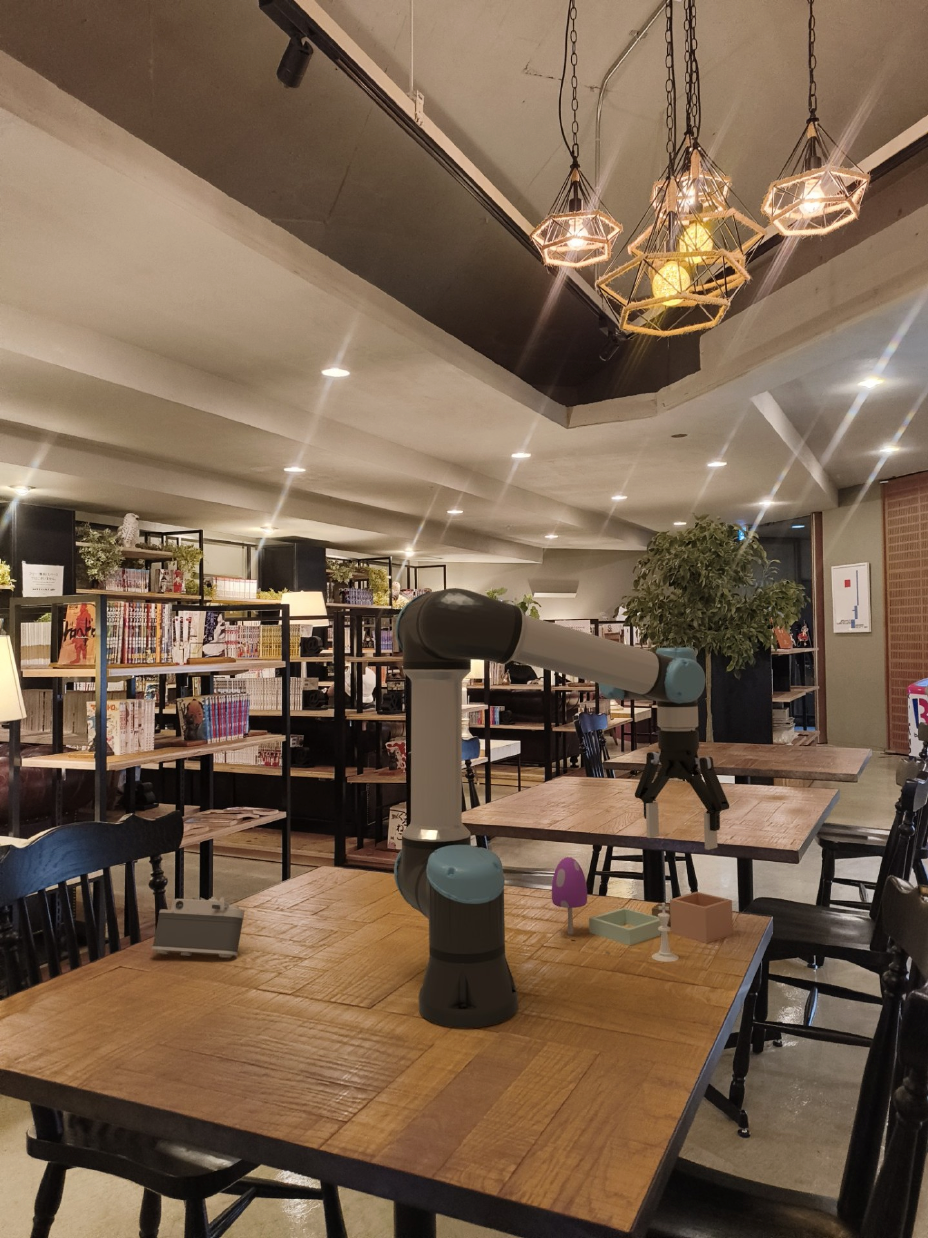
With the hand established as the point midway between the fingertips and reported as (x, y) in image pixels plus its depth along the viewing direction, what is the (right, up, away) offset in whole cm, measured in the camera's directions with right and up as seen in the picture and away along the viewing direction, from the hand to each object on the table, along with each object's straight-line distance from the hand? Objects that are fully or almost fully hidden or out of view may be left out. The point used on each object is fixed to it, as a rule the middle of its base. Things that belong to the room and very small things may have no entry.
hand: (681, 842), depth 164 cm
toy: (-21, -18, +1) cm, 28 cm away
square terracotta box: (+4, -18, -1) cm, 18 cm away
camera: (-89, -20, -2) cm, 92 cm away
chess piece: (-6, -18, -13) cm, 23 cm away
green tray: (-10, -18, 0) cm, 21 cm away
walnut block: (-2, -18, +6) cm, 19 cm away
